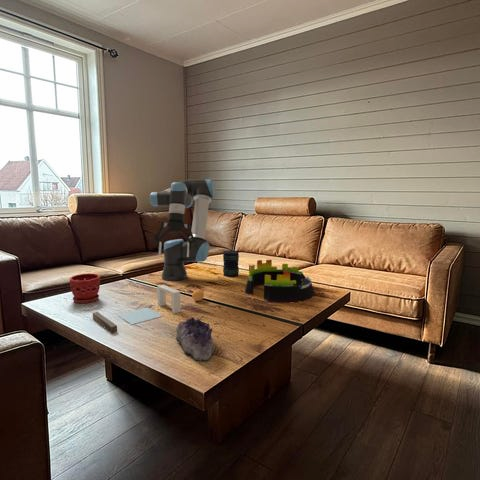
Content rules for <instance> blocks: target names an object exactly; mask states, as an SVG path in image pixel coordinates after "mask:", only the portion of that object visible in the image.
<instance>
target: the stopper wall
mask: <svg viewBox="0 0 480 480" xmlns="http://www.w3.org/2000/svg"><path fill="white" fill-rule="evenodd" d="M92 320H94V321H95V322H97V323H98V324H100V326H102V327H103V328H105V330H107V331H108V332H109V333H111V334H114V333H115V334H116V333H118V325H117V324H115V323H114V322H113V321H112V320H110V319H109V318H108V317H106V316H105V315H103V314H102V313H100V312H99V311H94V312H92Z"/></svg>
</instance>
